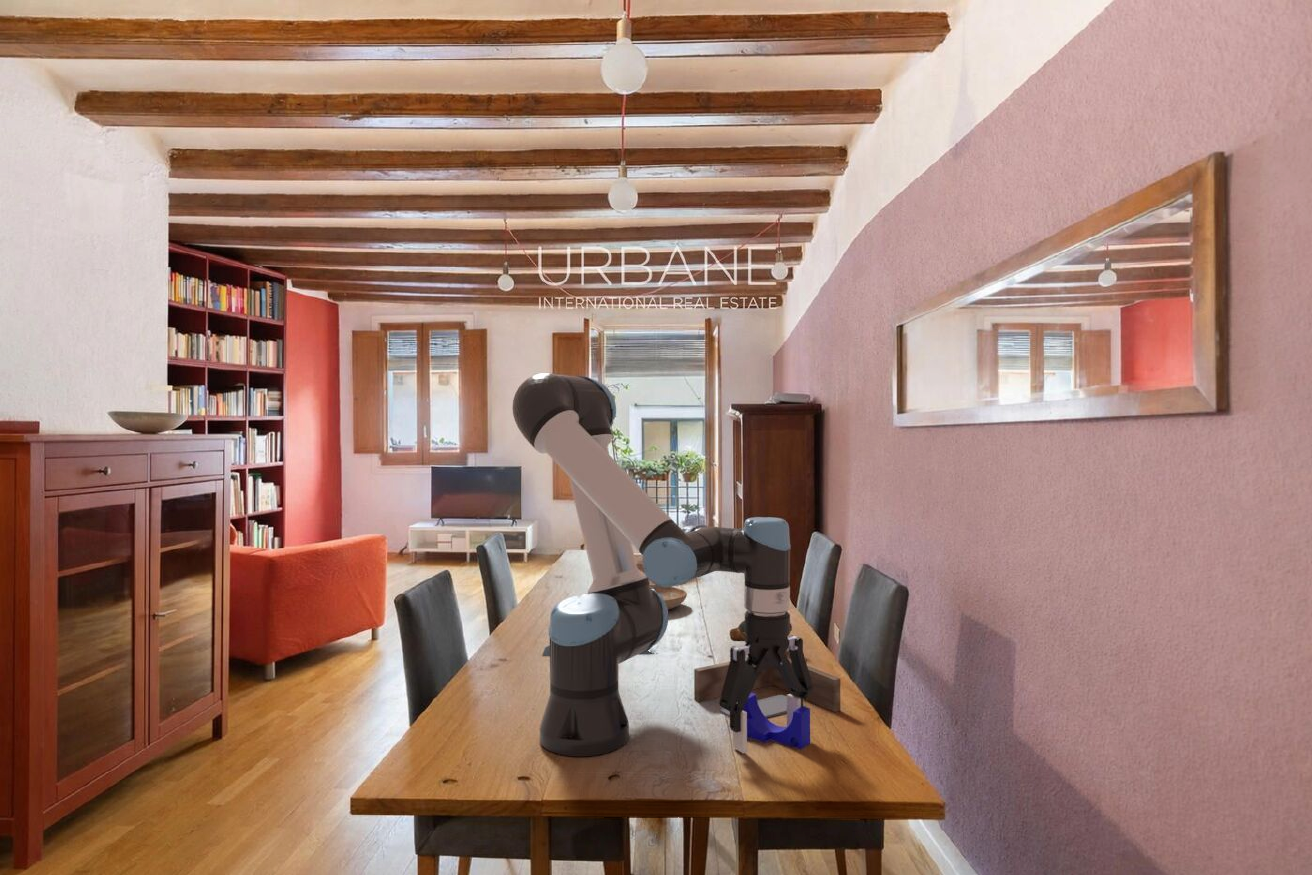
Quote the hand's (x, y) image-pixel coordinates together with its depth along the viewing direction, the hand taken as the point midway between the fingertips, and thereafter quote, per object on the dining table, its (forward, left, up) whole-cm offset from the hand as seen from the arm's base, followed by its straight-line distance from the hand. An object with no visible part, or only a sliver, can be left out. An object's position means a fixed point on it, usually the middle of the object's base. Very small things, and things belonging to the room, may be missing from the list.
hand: (767, 742), depth 123 cm
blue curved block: (+2, +1, -1) cm, 3 cm away
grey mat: (+9, +12, 0) cm, 15 cm away
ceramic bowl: (+31, +92, -1) cm, 97 cm away
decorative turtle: (+33, +42, 0) cm, 53 cm away
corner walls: (+11, +14, 0) cm, 17 cm away
